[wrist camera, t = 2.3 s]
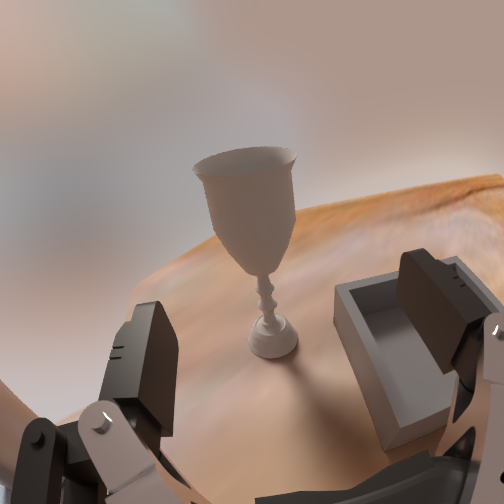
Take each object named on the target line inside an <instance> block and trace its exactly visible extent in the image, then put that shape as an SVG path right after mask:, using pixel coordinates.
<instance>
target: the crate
mask: <svg viewBox="0 0 504 504" xmlns="http://www.w3.org/2000/svg"><path fill="white" fill-rule="evenodd" d="M440 261H441V262H443V263H445V264H447V265H449V266H450V267H451V268H452V269H453V270H454V271H455V272H456V273H457V274H458V275H459V278H462V279H463V281H464V282H465V283H466V286H467V285H468V286H469V287H470V288H471V289H472V290H473V292H474V293H475V294H476V295H477V296H478V297H479V298H480V299H481V301H482V302H483V303H484V304H485V305H486V306H487V308H488V309H489V310H490V311H491V312H492V313H497V312H500V313H504V306H503V305H502V304H501V303H500V301H499V300H498V299H497V298H496V297H495V296H494V295H493V294H492V292H491V291H490V290H489V289H488V288H487V287H486V286H485V285H484V284H483V283H482V281H481V280H480V279H479V278H478V277H477V276H476V275H475V274H474V273H473V272H472V271H471V270H470V269H469V268H468V267H467V266H466V265H465V264H464V263H463V262H462V261H461V260H460V259H459V258H458V257H457V256H454V257H450V258H447V259H443V260H440ZM398 275H399V271H396V272H392V273H388V274H384V275H379V276H375V277H371V278H366V279H362V280H358V281H353V282H349V283H344V284H340V285H335V298H334V321H333V322H334V325H335V327H336V330H337V332H338V334H339V337H340V339H341V342H342V344H343V346H344V349H345V351H346V354H347V356H348V359H349V361H350V364H351V366H352V369H353V371H354V374H355V376H356V379H357V381H358V384H359V386H360V389H361V392H362V394H363V397H364V399H365V402H366V405H367V407H368V410H369V413H370V415H371V418H372V421H373V423H374V426H375V429H376V432H377V434H378V437H379V440H380V443H381V446H382V448H383V451H384V452H385V451H388V450H390V449H393V448H396V447H398V446H401V445H403V444H406V443H408V442H411V441H413V440H415V439H418V438H420V437H422V436H424V435H427V434H429V433H431V432H433V431H435V430H437V429H439V428H442V427H444V426H446V425H447V423H448V418H449V413H450V408H451V402H452V396H453V390H454V384H455V379H456V376H457V375H458V374H457V372H456V371H455V370H453V371H451V372H449V373H447V374H444V375H443V373H442V372H441V370H440V368H439V367H438V365H437V363H436V362H435V360H434V358H433V357H432V355H431V353H430V352H429V350H428V348H427V347H426V345H425V343H424V342H423V340H422V339H421V337H420V335H419V334H418V332H417V331H416V329H415V328H414V326H413V325H412V323H411V321H410V320H409V318H408V317H407V315H406V314H405V312H404V311H403V309H402V308H401V306H400V305H399V302H398V299H397V294H396V288H397V281H398Z"/></svg>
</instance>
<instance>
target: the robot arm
mask: <svg viewBox="0 0 504 504" xmlns="http://www.w3.org/2000/svg"><path fill="white" fill-rule="evenodd" d="M396 294H397V299H398V302H399V305H400V306H401V308H402V309H403V311H404V312H405V314H406V315H407V317H408V318H409V320H410V321H411V323H412V325H413V326H414V328H415V329H416V331H417V332H418V334H419V335H420V337H421V339H422V340H423V342H424V343H425V345H426V347H427V348H428V350H429V352H430V353H431V355H432V357H433V358H434V360H435V362H436V363H437V365H438V367H439V368H440V370H441V372H442V373H443V375H444V374H447V373H449V372H451V371H453V370H455V371H456V372H457V374H458V375H457V376H456V379H455V384H454V390H453V396H452V402H451V408H450V413H449V418H448V423H447V427H446V430H445V432H444V435H443V437H442V438H441V440H440V442H439V445H438V447H437V450H436V453H435V456H434V457H430V456H429V453H428V451H427V450H426V451H424V452H421V453H419V454H417V455H415V456H412V457H410V458H408V459H405V460H403V461H400V462H398V463H395V464H393V465H390V466H388V467H387V468H385V469H384V470H382V471H381V472H379V473H377V474H376V475H374V476H373V477H371V478H369V479H368V480H366V481H364V482H363V483H361V484H359V485H357V486H356V487H354V488H352V489H349V490H341V491H298V492H293V493H287V494H281V495H275V496H268V497H260V498H255V504H504V313H500V312H497V313H492V312H491V311H490V310H489V309H488V308H487V306H486V305H485V304H484V303H483V302H482V301H481V299H480V298H479V297H478V296H477V295H476V294H475V293H474V292H473V290H472V289H471V288H470V287H469V286H468V285H467V286H466V283H465V282H464V281H463V279H462V278H459V275H458V274H457V273H456V272H455V271H454V270H453V269H452V268H451V267H450V266H449V265H447V264H445V263H443V262H441V261H440V260H438V259H437V260H435V259H434V258H433V257H432V256H431V255H430V253H429V252H428V251H427V250H425V249H424V248H421V249H416V250H412V251H408V252H404V253H403V254H402V256H401V260H400V268H399V275H398V281H397V288H396ZM112 347H113V349H112V350H111V353H110V357H109V358H110V360H109V361H108V364H107V368H106V372H105V375H104V379H103V383H102V388H101V392H100V395H99V399H98V401H97V402H94V403H92V404H90V405H89V406H88V407H87V408H86V409H85V410H84V411H83V412H82V414H81V415H80V418H79V420H78V421H75V422H71V423H68V424H64V425H60V426H56V425H54V424H53V423H52V422H51V421H50V420H48V419H46V418H39V417H38V416H37V415H36V414H35V413H34V412H33V411H32V410H31V409H29V408H28V407H27V406H26V405H25V404H24V403H23V402H22V401H21V400H20V399H19V398H18V397H17V396H16V395H15V394H14V393H13V392H12V391H11V390H10V389H9V388H8V387H7V386H6V385H5V384H4V383H3V382H2V381H1V380H0V484H1V485H3V486H4V487H6V488H8V489H10V490H12V496H11V504H60V496H61V486H62V484H63V482H64V480H65V488H64V500H63V504H211V503H210V502H209V501H208V500H207V499H206V498H204V497H203V496H202V495H201V494H200V493H199V492H198V491H197V490H196V489H195V488H194V487H193V486H192V485H191V484H190V483H189V482H188V481H187V479H186V478H185V477H184V476H183V475H182V474H181V472H180V471H179V470H178V469H177V468H176V466H175V465H174V464H173V463H172V462H171V460H170V459H169V458H168V457H167V455H166V454H165V453H164V451H163V450H162V449H161V448H160V440H161V437H173V421H174V403H175V389H176V375H177V363H178V352H179V348H178V341H177V337H176V334H175V332H174V330H173V327H172V325H171V323H170V321H169V319H168V317H167V315H166V312H165V310H164V308H163V306H162V304H161V303H160V302H159V301H155V302H149V303H143V304H137V305H136V306H135V309H134V312H133V316H132V319H131V321H129V322H125V323H124V324H123V325H122V327H121V328H120V330H119V331H118V332H117V334H116V336H115V340H114V343H113V346H112ZM107 489H108V492H109V494H108V495H107Z"/></svg>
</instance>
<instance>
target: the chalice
mask: <svg viewBox="0 0 504 504" xmlns="http://www.w3.org/2000/svg"><path fill="white" fill-rule="evenodd" d="M296 157H297V154H296V152H295V151H293V150H290V149H287V148H281V147H250V148H243V149H236V150H232V151H227V152H223V153H219V154H216V155H214V156H210V157H208V158H206V159H203V160H202V161H200V162H199V163H197V164H195V165H194V167H193V169H192V170H193V172H194V173H195V174H196V175H197V176H198V177H199V179H200V180H201V181H202V182H203V186H204V190H205V194H206V199H207V203H208V208H209V212H210V216H211V220H212V225H213V229H214V231H215V232H216V234H217V236H218V237H219V239H220V240H221V242H222V244H223V245H224V247H225V248H226V250H227V251H228V253H229V254H230V255H231V256H232V257H233V258H234V259H235V261H236V262H237V263H238V264H239V265H240V266H241V267H242V268H243V269H244V270H245V272H247V273H248V274H250V275H254V276H257V278H258V282H257V286H256V288H255V290H256V292H257V293H259V294H260V296H261V299H260V301H259V302H258V304H257V306H258V308H259V309H260V310H262V311H263V313H264V315H262V316H261V317H259V318H258V319H257V320H256V321H255V322H254V324H253V326H252V329H251V332H250V335H249V337H248V346H249V348H250V350H251V351H252V352H253V353H254V354H255V355H258V356H260V357H262V358H268V359H272V358H279V357H282V356H285V355H287V354H288V353H290V352H291V351H292V350H293V349H294V348H295V346H296V345H297V341H298V335H297V332H296V330H295V329H294V328H293V327H292V325H291V323H289V321H288V320H287V319H286V318H285V317H284V316H282V315H280V314H277V313H274V308H276V306H277V301H276V300H275V299H273V298H272V296H271V294H272V291H273V290H274V285H273V284H271V282H270V280H269V277H268V276H269V274H271V273H273V272H274V271H275V270H276V269H277V268H278V266H279V264H280V262H281V260H282V258H283V256H284V254H285V251H286V249H287V247H288V245H289V242H290V238H291V235H292V231H293V228H294V224H295V221H296V216H295V205H294V195H293V185H292V175H291V169H292V167H293V164H294V162H295V159H296Z"/></svg>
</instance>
